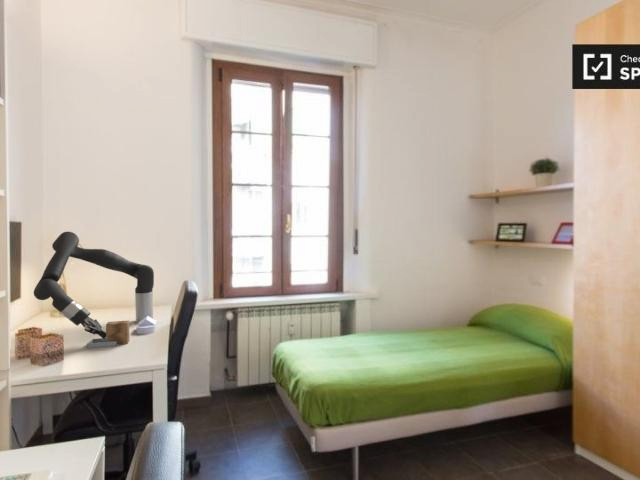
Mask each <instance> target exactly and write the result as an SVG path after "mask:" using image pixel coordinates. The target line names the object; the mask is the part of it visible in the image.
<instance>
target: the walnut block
mask: <svg viewBox="0 0 640 480" xmlns="http://www.w3.org/2000/svg"><path fill="white" fill-rule="evenodd" d="M105 333H106V342H110V341H117V344H119V345H128V344H129V343H130V340H131V339H130V337H131V336H130V320H115V321H108V322H107V323H106V324H105Z"/></svg>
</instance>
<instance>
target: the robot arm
mask: <svg viewBox="0 0 640 480" xmlns="http://www.w3.org/2000/svg"><path fill="white" fill-rule="evenodd" d="M79 243H80V238H79V236H78V235H77V234H76V233H74V232H73V231H64V232H62V233H60V234H59V235H58V237H56V239H55V240H54V241H53V243H52V244H51V245H52V249H53V251H55V252H54V254H53V255H52V257H51V258H50V260H49V261H48V263H47V265H46V267H45V269H44V271H43V273H42V275H41V277H40V279H39V281H38V283H37V284H36V286H35V287H34V290H33V295H34V297H35V298H36V300H39V301H45V300H48V299H50V298H51V299H52V302H51V305H52V306H53V308H55V309H56V310H57V311H58V312H60V313H61V314H62V315H63V316H64V317H65V318H66V319H67V320H68V321H70V322H71V323H73V324H74V325H75V326H79V325H82V327H83V328H84V329H83V330H84V331H85V332H87V333H90V334H92V335H98V336H100V337H99V338H103V339H105V338H106V331H104V330H103V327H102V325H101V324H100V322H99V321H98V320H97V319H93V318H91V317H90V315H91V312H90V311H88V309H86V308H85V307H83V305H81V304H80V303H78V302H77V301H75V300H74V299H72V298H71V297H70V296H68V294H67V293H66V292H65V290H64V288H63V287H62V286H61V285H60V284H59V281H60V279H61V278H62V275H63V272H64V270H65V268H66V265H67V263H68V260H69V258H73V259H78V260H81V261H84V262H88V263H91V264H93V265H97V266H98V267H102V268H103V269H107V270H112V271H114V272H119V273H123V274H126V275H128V276H130V277H132V278H134V279H136V280H137V281H136V287H135V289H134V293H135V294H134V296H135V298H134V301H135V302H134V305H135V323H136V324H138V323H139V322H140V321H141V320H143V319H144V318H145V317H147V316H149V317H151V318H152V319H154V312H153V311H154V308H153V307H154V305H153V304H154V302H153V298H154V297H153V292H154V291H153V290H154V289H153V288H154V285H155V284H154V281H155V279H154V278H155V273H154V272H155V271H154V269H153V268H152V266H150V265H146V264H141V263H137V262H133V261H131V260H128V259H126V258H124V257H123V256H121V255H119V254H117V253H115V252H112V251H110V250H108V249H103V248H84V247H80V246H79Z"/></svg>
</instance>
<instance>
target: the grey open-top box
mask: <svg viewBox="0 0 640 480" xmlns="http://www.w3.org/2000/svg"><path fill="white" fill-rule="evenodd" d="M115 345H116V346H117V341H110V342H106V338H105V339H103V338H102V337H98V338H91V339H90V340H89V341H88V342H87V344H86V347H87V349H90V348H103V347H114V346H115Z"/></svg>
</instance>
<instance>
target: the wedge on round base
mask: <svg viewBox="0 0 640 480" xmlns="http://www.w3.org/2000/svg"><path fill="white" fill-rule="evenodd" d="M156 325H157V320H156V319H154V318H153V319H152V318H151V317H149V316H147V317H145V318H144V319H143V320H141V321H140V322H139V323H137V325H136V334H137V335H150V334H154V333H155V332H156Z"/></svg>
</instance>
